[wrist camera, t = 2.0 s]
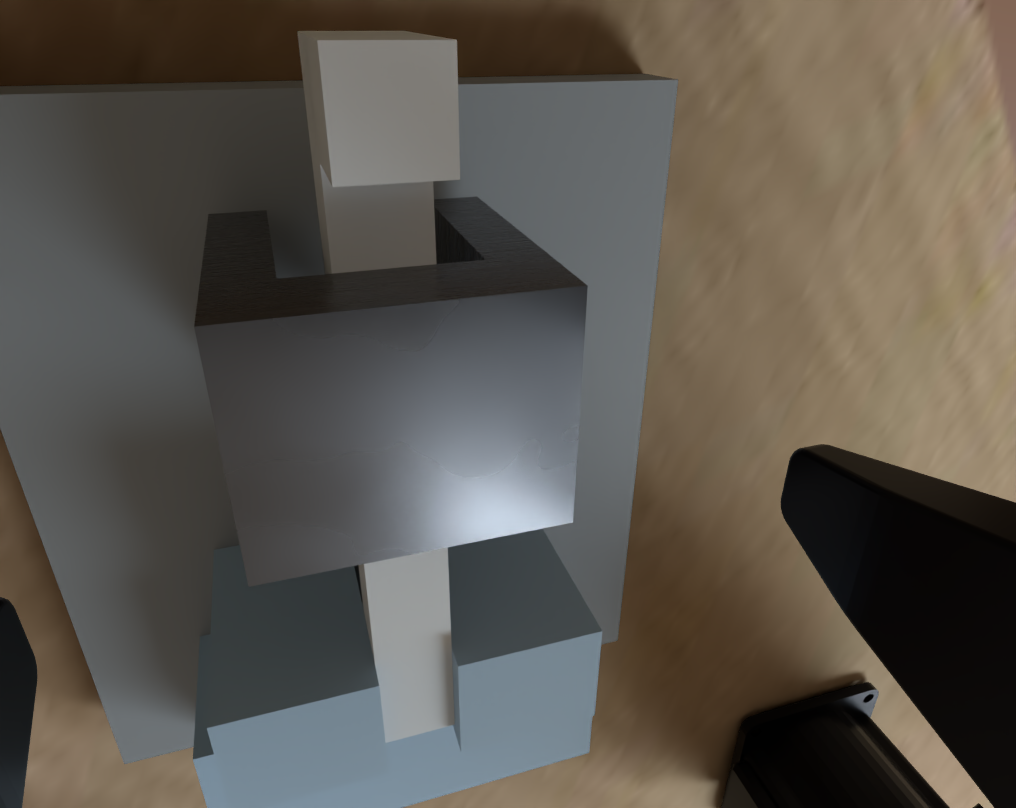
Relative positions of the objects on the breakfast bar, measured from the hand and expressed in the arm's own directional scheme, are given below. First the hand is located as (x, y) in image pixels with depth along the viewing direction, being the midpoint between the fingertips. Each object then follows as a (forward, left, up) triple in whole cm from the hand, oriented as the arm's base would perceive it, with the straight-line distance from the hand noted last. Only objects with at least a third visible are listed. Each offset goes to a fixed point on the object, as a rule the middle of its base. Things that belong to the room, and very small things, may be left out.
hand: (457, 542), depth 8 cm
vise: (0, +4, -10) cm, 10 cm away
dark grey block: (0, 0, -8) cm, 8 cm away
